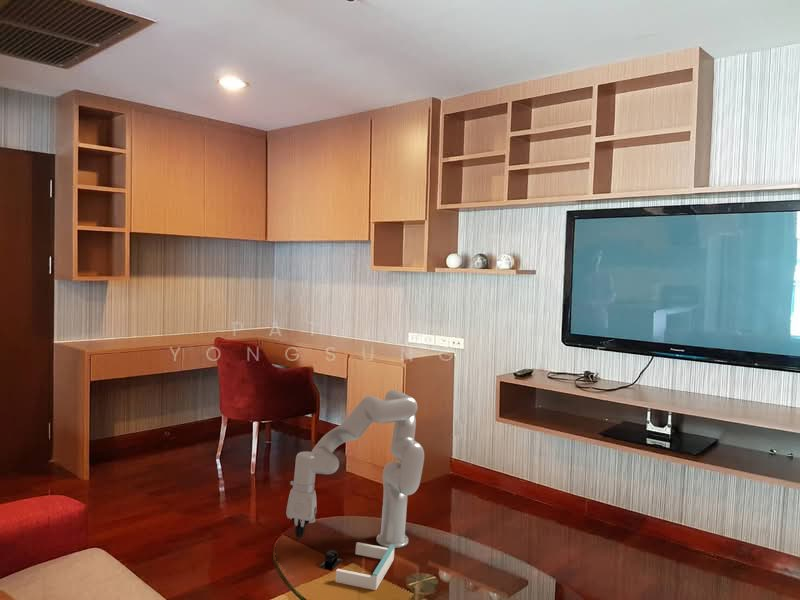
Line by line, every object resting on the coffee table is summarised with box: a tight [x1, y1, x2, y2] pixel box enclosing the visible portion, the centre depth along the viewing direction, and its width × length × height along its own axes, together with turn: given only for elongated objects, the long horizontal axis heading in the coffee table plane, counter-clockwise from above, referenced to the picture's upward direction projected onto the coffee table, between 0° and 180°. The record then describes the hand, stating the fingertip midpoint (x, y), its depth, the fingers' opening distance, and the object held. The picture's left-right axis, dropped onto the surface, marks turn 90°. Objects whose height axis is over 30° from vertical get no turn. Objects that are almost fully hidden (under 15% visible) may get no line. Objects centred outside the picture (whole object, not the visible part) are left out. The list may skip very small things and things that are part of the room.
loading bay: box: [334, 541, 396, 591], centre depth 221 cm, size 23×14×5 cm, turn 166°
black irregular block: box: [317, 549, 344, 572], centre depth 224 cm, size 12×7×5 cm, turn 159°
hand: (299, 535), depth 226 cm, fingers closed
